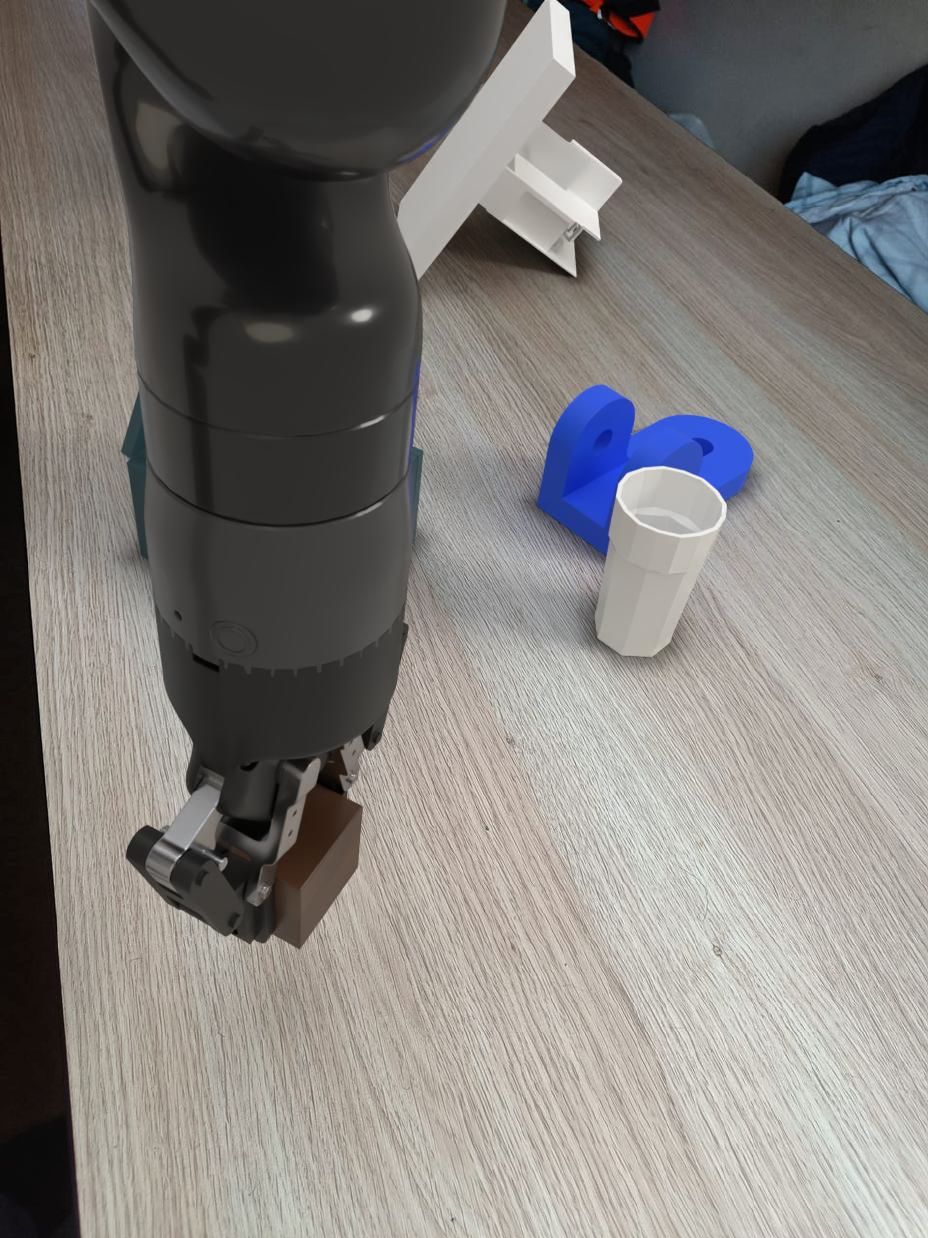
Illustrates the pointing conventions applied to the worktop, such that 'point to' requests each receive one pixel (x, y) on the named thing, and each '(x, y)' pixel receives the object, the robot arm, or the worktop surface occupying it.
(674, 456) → the bracket
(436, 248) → the white tilted panel stand
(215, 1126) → the worktop surface
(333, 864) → the block
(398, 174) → the worktop surface
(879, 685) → the worktop surface
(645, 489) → the cup
